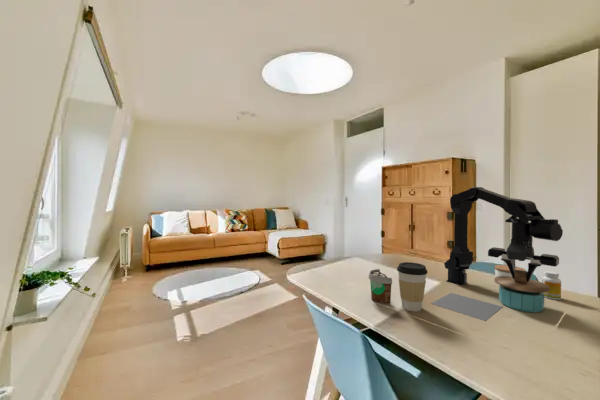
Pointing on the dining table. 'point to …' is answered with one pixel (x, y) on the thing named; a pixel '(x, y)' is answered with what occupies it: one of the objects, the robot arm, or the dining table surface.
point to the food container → (380, 287)
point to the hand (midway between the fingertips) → (520, 280)
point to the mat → (467, 306)
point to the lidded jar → (504, 270)
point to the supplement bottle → (552, 285)
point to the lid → (522, 283)
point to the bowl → (521, 299)
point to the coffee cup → (412, 285)
